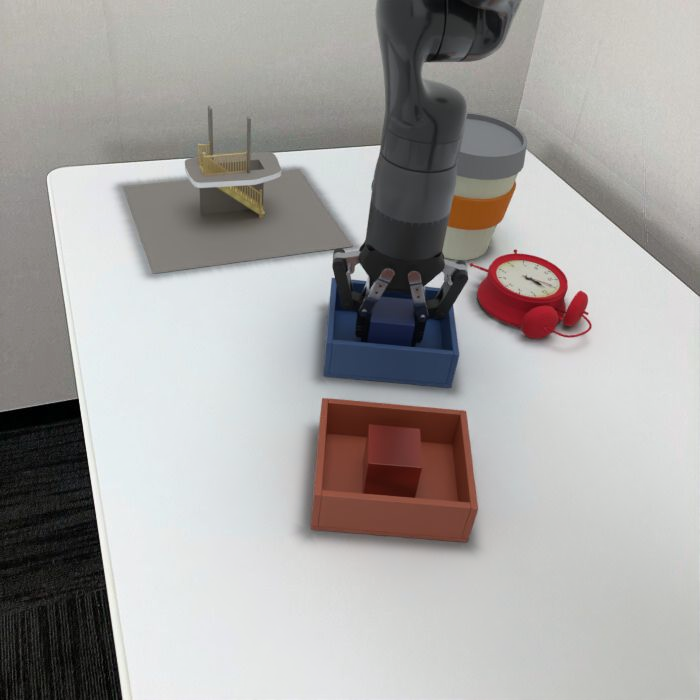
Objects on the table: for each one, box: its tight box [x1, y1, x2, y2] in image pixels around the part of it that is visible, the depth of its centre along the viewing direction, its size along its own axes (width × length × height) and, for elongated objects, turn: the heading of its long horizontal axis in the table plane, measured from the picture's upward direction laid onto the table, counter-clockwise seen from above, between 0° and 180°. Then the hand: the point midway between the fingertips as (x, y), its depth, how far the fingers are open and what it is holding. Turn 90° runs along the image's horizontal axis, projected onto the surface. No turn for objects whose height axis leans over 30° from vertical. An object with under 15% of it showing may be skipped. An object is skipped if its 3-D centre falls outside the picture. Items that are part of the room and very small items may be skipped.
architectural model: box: [122, 105, 354, 275], centre depth 96 cm, size 21×25×14 cm
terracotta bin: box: [310, 397, 479, 543], centre depth 67 cm, size 13×11×4 cm
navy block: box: [367, 297, 415, 347], centre depth 82 cm, size 4×4×4 cm
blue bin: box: [322, 277, 460, 389], centre depth 82 cm, size 13×11×4 cm
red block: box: [363, 424, 422, 498], centre depth 67 cm, size 4×4×4 cm
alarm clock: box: [469, 249, 593, 340], centre depth 89 cm, size 10×6×15 cm
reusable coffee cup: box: [442, 111, 528, 261], centre depth 96 cm, size 13×13×15 cm
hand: (387, 339), depth 83 cm, fingers closed on navy block, 4 cm apart
